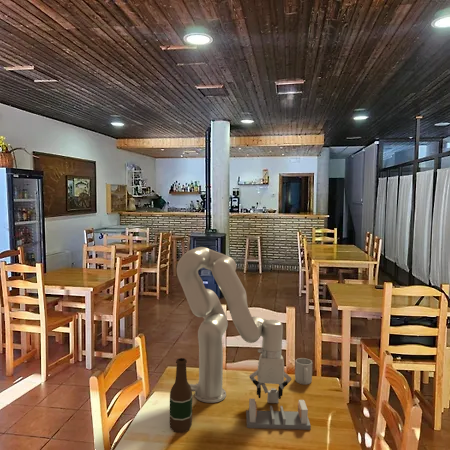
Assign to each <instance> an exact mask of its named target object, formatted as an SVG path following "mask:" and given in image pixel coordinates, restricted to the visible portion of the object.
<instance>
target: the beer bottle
mask: <svg viewBox="0 0 450 450" xmlns="http://www.w3.org/2000/svg"><path fill="white" fill-rule="evenodd" d="M187 362H188V361H187V359H186V358H184V357H180V358H177V359H176V361H175V363H176V369H175V370H176V371H175V381H174V384H173V385H172V387H171V389H170V392H169V428H170V430H171V431H173V432H174V433H180V434H183V433H185V432H188V431H190V429H191V427H192V424H193V391H192V389H191V386H190V385H189V384H190V383H189V382H188V378H187V377H188V375H187Z"/></svg>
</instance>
